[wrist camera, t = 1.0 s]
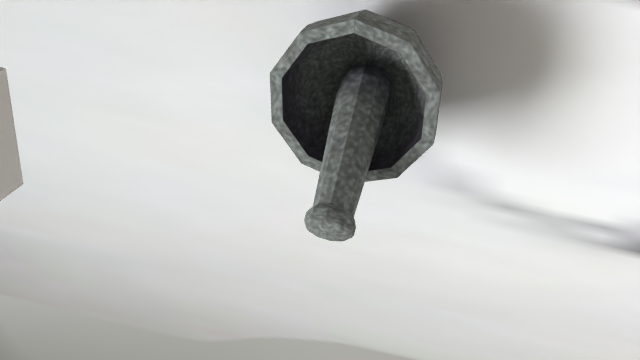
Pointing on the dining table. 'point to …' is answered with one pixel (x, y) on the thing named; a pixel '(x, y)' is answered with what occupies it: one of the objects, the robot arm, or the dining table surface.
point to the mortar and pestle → (354, 109)
